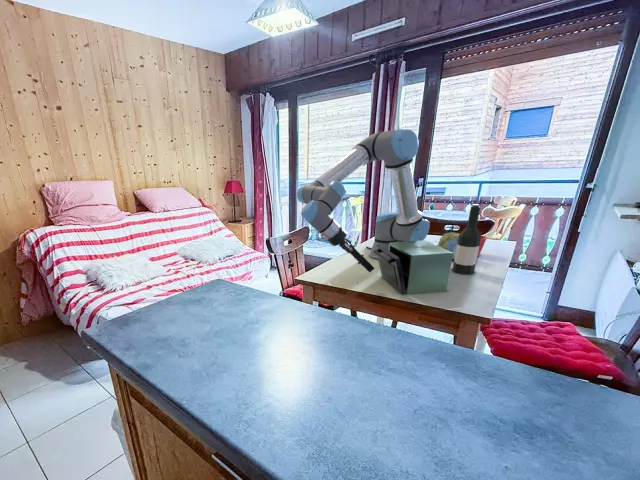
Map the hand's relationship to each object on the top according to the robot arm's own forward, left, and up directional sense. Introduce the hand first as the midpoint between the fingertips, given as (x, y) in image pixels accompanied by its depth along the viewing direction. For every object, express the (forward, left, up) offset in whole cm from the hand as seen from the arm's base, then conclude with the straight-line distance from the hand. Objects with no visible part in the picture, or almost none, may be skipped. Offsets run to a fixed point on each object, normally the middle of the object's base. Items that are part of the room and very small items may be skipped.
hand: (371, 269), depth 136 cm
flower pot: (-33, +66, -8) cm, 74 cm away
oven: (0, +19, -8) cm, 20 cm away
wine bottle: (-10, +47, -8) cm, 49 cm away
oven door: (0, +9, -8) cm, 12 cm away
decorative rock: (-30, +52, -8) cm, 61 cm away
